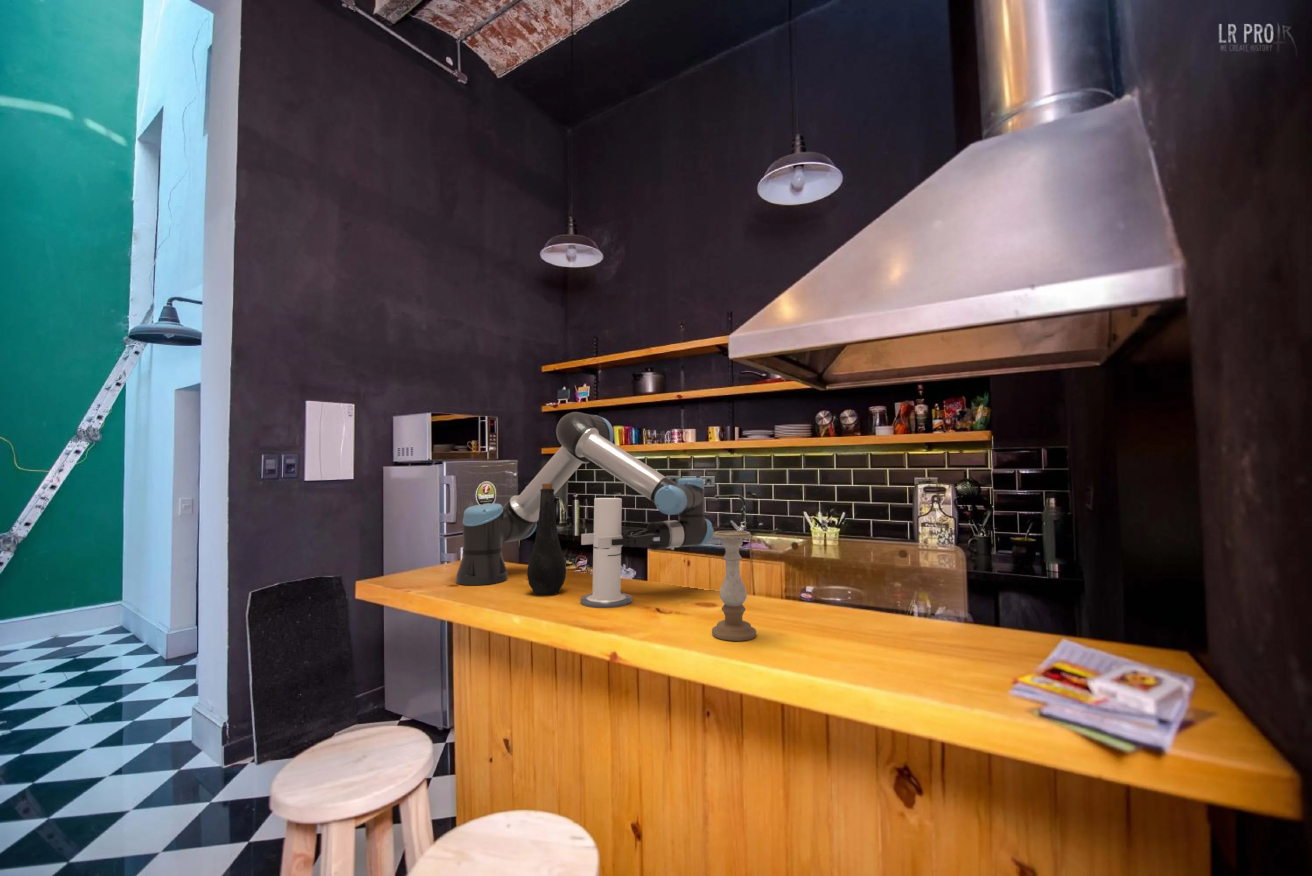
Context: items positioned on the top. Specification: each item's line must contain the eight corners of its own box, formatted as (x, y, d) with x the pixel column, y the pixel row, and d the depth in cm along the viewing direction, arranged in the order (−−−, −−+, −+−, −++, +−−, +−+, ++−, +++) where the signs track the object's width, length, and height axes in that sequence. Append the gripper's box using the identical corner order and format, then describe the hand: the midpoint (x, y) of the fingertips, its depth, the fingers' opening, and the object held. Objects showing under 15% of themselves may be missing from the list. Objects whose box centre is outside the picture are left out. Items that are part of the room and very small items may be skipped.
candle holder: (740, 644, 99) (737, 535, 100) (703, 635, 105) (701, 532, 106) (764, 634, 105) (762, 531, 107) (728, 626, 111) (726, 529, 113)
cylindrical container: (594, 593, 138) (596, 497, 140) (621, 594, 138) (623, 498, 140) (590, 599, 131) (592, 498, 133) (619, 600, 131) (620, 499, 133)
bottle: (570, 588, 150) (570, 483, 152) (560, 597, 139) (560, 484, 142) (534, 588, 151) (535, 483, 153) (521, 596, 140) (522, 484, 143)
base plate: (572, 600, 136) (572, 595, 136) (616, 593, 143) (616, 589, 143) (595, 610, 125) (595, 605, 125) (641, 602, 132) (641, 598, 132)
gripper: (687, 553, 136) (610, 561, 123) (643, 544, 154) (572, 551, 141) (686, 524, 136) (610, 529, 124) (642, 518, 154) (572, 523, 142)
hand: (590, 541), depth 133 cm, fingers open, 9 cm apart
